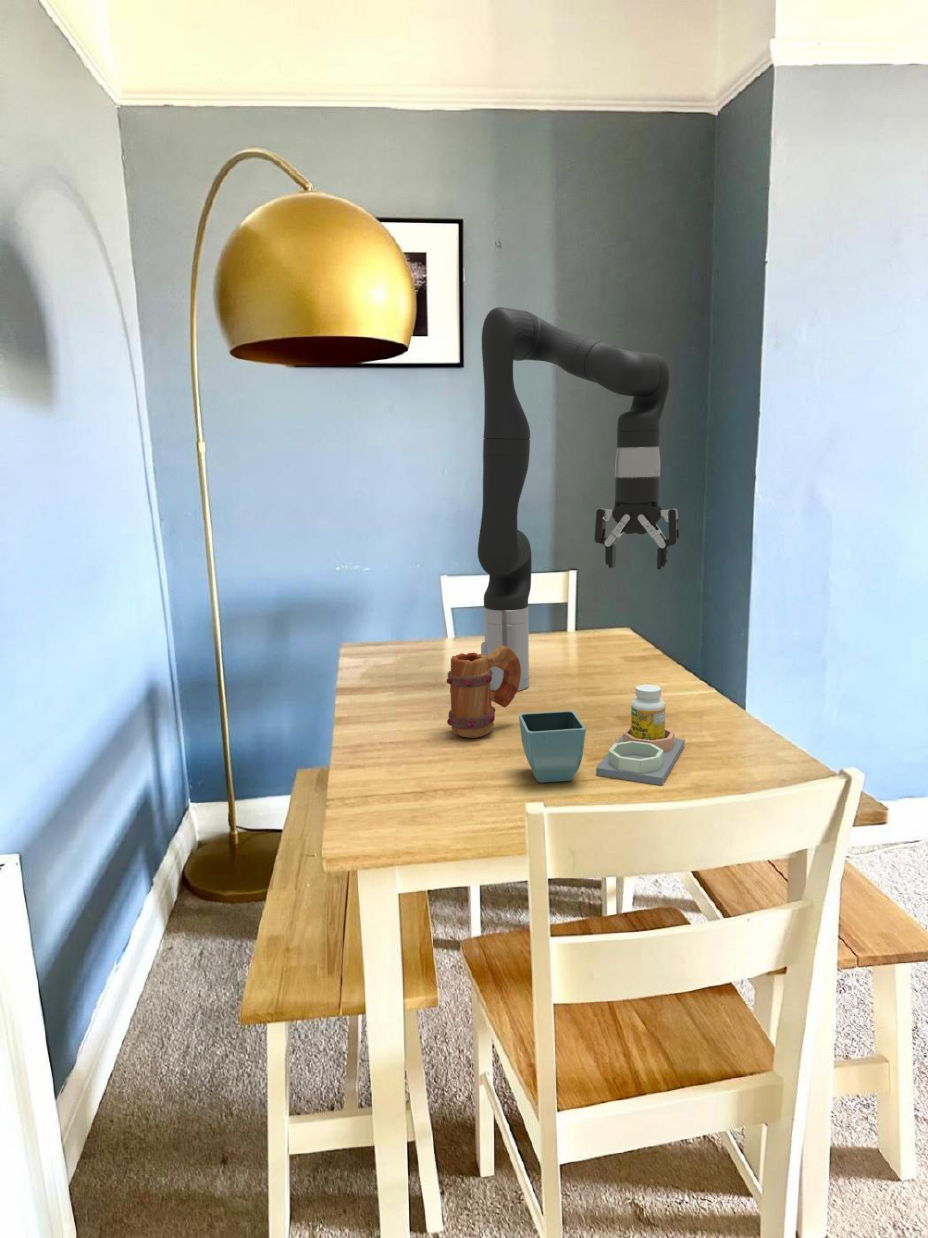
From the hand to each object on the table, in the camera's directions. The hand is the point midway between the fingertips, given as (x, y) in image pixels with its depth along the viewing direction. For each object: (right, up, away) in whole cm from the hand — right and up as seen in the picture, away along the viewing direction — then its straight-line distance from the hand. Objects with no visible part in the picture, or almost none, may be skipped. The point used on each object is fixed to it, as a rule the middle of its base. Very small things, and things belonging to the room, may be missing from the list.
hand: (635, 568), depth 139 cm
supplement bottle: (0, -30, -9) cm, 31 cm away
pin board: (-2, -31, -13) cm, 34 cm away
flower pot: (-17, -33, -18) cm, 41 cm away
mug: (-26, -29, +3) cm, 39 cm away
